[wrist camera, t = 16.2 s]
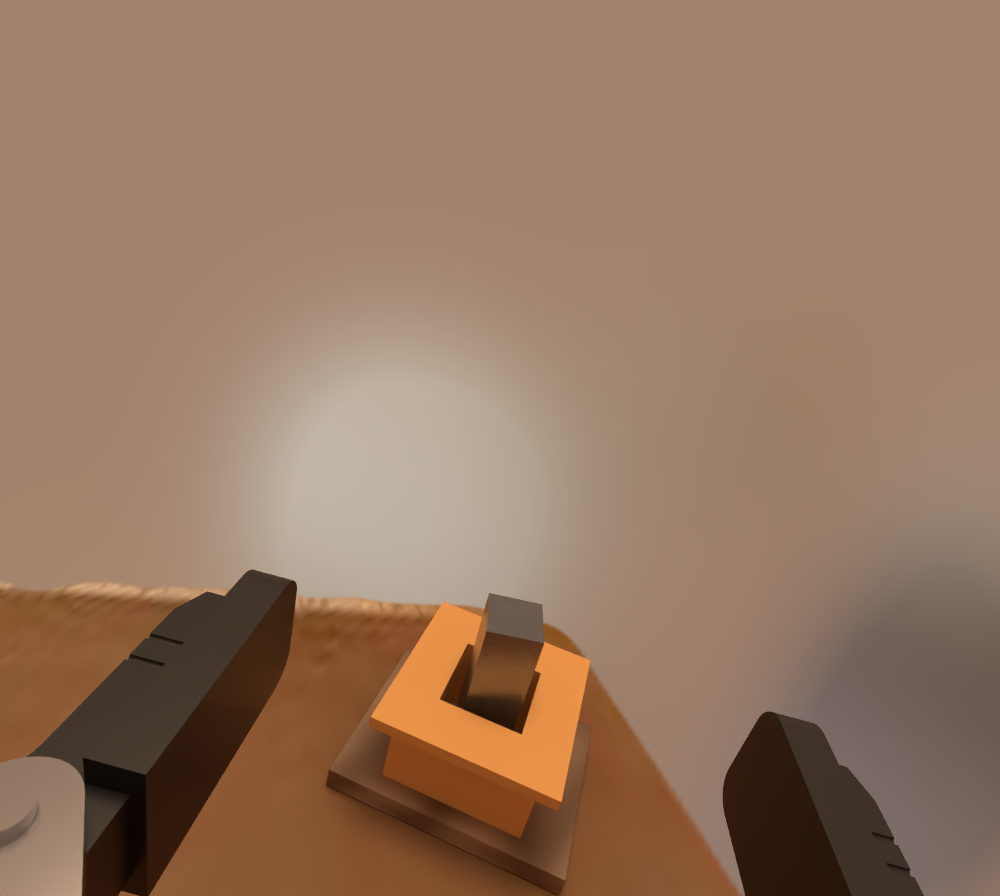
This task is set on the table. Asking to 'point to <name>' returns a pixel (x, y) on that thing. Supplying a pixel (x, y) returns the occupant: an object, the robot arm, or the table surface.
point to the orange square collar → (479, 728)
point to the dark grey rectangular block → (503, 660)
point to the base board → (527, 857)
